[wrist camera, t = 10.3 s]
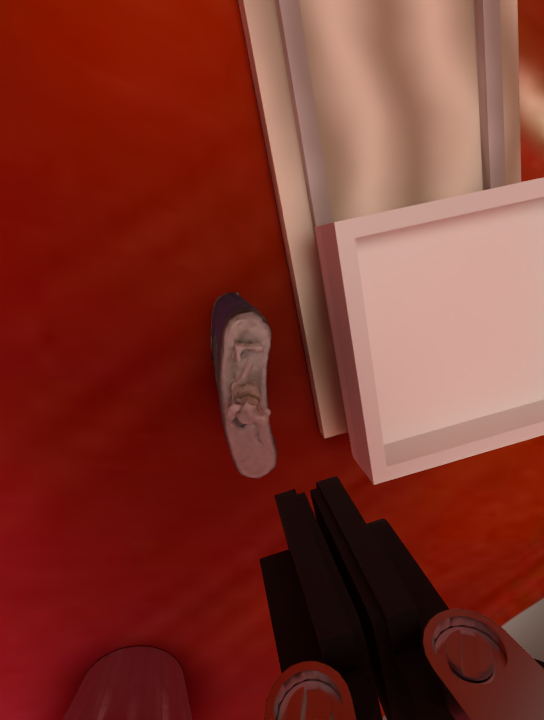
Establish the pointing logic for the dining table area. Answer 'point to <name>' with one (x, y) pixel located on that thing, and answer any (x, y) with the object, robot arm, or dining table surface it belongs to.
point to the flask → (243, 383)
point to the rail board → (376, 126)
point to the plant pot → (132, 688)
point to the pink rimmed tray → (439, 327)
